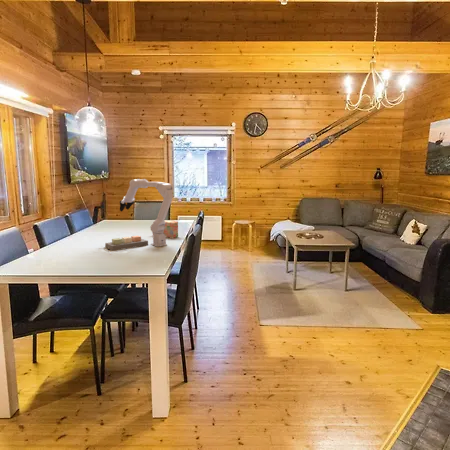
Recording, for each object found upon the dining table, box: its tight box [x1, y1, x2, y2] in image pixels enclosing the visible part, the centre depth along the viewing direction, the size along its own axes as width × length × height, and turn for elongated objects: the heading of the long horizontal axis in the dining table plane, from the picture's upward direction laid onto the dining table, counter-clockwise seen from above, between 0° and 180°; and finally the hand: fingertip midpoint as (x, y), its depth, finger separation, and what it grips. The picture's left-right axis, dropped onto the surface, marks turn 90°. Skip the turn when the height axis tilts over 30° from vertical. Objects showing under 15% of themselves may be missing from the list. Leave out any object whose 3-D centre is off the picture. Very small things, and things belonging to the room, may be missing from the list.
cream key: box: [121, 236, 132, 243], centre depth 244 cm, size 5×5×3 cm
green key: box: [111, 237, 122, 245], centre depth 239 cm, size 5×5×3 cm
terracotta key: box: [130, 235, 142, 242], centre depth 248 cm, size 5×5×3 cm
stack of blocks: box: [163, 220, 179, 239], centre depth 279 cm, size 21×6×12 cm, turn 60°
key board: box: [104, 238, 149, 251], centre depth 244 cm, size 12×26×3 cm, turn 129°
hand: (123, 209), depth 257 cm, fingers open, 7 cm apart
